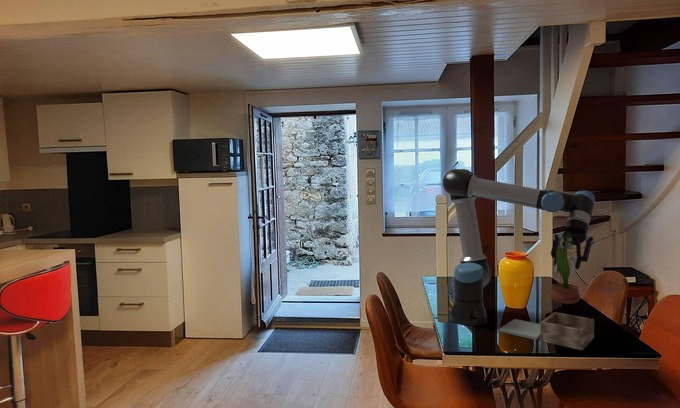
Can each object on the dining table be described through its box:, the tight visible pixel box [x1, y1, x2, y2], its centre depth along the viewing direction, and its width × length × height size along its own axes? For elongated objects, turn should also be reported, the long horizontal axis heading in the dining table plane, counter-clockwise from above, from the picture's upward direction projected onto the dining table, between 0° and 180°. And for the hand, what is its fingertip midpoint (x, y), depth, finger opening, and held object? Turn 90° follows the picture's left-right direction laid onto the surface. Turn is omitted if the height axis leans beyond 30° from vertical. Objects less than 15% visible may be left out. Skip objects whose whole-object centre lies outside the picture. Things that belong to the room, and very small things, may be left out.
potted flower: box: [549, 234, 581, 305], centre depth 162 cm, size 12×10×25 cm
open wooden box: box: [539, 311, 595, 351], centre depth 162 cm, size 14×16×7 cm
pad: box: [498, 318, 541, 341], centre depth 173 cm, size 14×16×1 cm
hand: (563, 273), depth 159 cm, fingers closed on potted flower, 5 cm apart
